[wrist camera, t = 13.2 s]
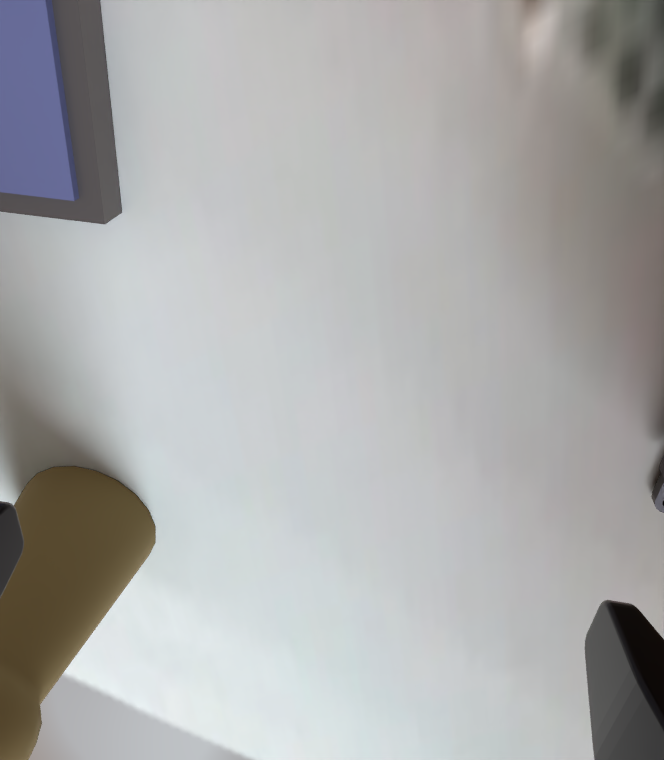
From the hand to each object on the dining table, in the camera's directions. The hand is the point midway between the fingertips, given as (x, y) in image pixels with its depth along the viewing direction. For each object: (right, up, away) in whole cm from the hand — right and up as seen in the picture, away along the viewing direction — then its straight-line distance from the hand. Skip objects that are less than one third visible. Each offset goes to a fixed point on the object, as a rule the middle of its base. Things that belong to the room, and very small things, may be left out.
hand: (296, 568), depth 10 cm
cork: (-10, -3, +18) cm, 21 cm away
